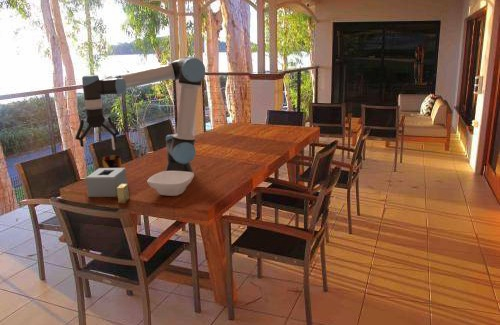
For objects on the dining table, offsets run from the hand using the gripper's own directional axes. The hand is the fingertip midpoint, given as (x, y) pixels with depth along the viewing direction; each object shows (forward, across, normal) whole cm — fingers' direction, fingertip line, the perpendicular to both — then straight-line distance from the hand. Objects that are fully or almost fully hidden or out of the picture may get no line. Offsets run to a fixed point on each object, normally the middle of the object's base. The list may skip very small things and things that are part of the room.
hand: (99, 151), depth 216 cm
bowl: (+22, -29, +20) cm, 42 cm away
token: (+21, -6, +18) cm, 29 cm away
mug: (+22, -9, -20) cm, 31 cm away
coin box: (+21, -2, 0) cm, 21 cm away
